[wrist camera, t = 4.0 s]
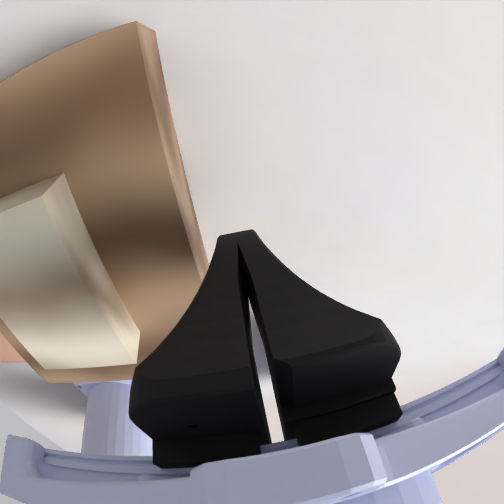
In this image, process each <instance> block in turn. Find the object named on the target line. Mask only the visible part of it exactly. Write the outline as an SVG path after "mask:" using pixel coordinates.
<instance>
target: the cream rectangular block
mask: <svg viewBox="0 0 504 504" xmlns="http://www.w3.org/2000/svg"><path fill="white" fill-rule="evenodd" d="M0 318H1V319H2V320H3V322H4V323H5V324H6V326H7V327H8V328H9V329H10V330H11V332H12V333H13V334H14V335H15V337H16V338H17V339H18V340H19V341H20V343H21V344H22V345H23V346H24V347H25V348H26V349H27V351H28V352H29V353H30V354H31V355H32V356H33V357H34V358H35V359H36V360H37V362H38V363H39V364H40V365H41V366H42V367H43V368H44V369H45V370H47V369H73V368H90V367H104V366H116V365H127V364H137V356H138V347H139V338H140V331H139V329H138V328H137V326H136V324H135V323H134V321H133V319H132V317H131V316H130V314H129V312H128V310H127V309H126V307H125V305H124V303H123V301H122V300H121V298H120V296H119V294H118V292H117V290H116V288H115V287H114V285H113V283H112V281H111V279H110V277H109V275H108V273H107V271H106V269H105V267H104V265H103V263H102V261H101V259H100V257H99V255H98V253H97V251H96V249H95V246H94V244H93V242H92V240H91V238H90V236H89V233H88V231H87V229H86V227H85V224H84V222H83V220H82V217H81V215H80V213H79V210H78V208H77V205H76V203H75V201H74V198H73V196H72V193H71V191H70V188H69V185H68V183H67V180H66V177H65V175H64V173H62V174H59V175H56V176H53V177H51V178H48V179H46V180H43V181H40V182H38V183H35V184H33V185H30V186H28V187H26V188H23V189H21V190H19V191H16V192H14V193H12V194H9V195H7V196H5V197H3V198H0Z"/></svg>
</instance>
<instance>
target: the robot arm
mask: <svg viewBox="0 0 504 504" xmlns="http://www.w3.org/2000/svg"><path fill="white" fill-rule="evenodd" d="M248 297H249V299H248ZM249 300H250V304H251V307H252V310H253V313H254V316H255V319H256V323H257V326H258V329H259V332H260V335H261V338H262V341H263V345H264V348H265V352H266V357H267V361H268V366H269V371H270V375H271V380H272V385H273V389H274V394H275V399H276V403H277V408H278V413H279V417H280V422H281V427H282V431H283V436H284V441H282V442H277V443H272V442H271V437H270V432H269V428H268V423H267V418H266V413H265V408H264V403H263V398H262V394H261V389H260V384H259V379H258V373H257V368H256V363H255V358H254V352H253V345H252V334H251V322H250V311H249ZM400 356H401V350H400V347H399V345H398V343H397V341H396V340H395V338H394V336H393V335H392V333H391V332H390V330H389V329H388V328H387V327H386V325H385V324H384V323H383V321H382V320H381V319H379V318H376V317H373V316H370V315H368V314H365V313H362V312H360V311H357V310H354V309H352V308H350V307H348V306H346V305H343V304H341V303H339V302H337V301H335V300H333V299H332V298H330V297H328V296H326V295H325V294H323V293H321V292H319V291H318V290H316V289H315V288H313V287H312V286H310V285H309V284H307V283H306V282H305V281H303V280H302V279H301V278H299V277H298V276H297V275H295V274H294V273H293V272H292V271H291V270H290V269H288V268H287V267H286V266H285V265H284V264H283V263H282V262H281V261H280V260H279V259H278V258H277V257H276V256H275V255H274V254H273V253H272V252H271V251H270V250H269V249H268V248H267V247H266V245H265V244H264V243H263V242H262V240H261V239H260V238H259V236H258V235H257V233H256V232H255V231H254V230H246V231H241V232H236V233H231V234H226V235H220V236H219V237H218V239H217V243H216V248H215V251H214V254H213V257H212V260H211V263H210V265H209V268H208V270H207V273H206V275H205V277H204V279H203V281H202V283H201V286H200V288H199V290H198V291H197V293H196V295H195V297H194V299H193V300H192V302H191V304H190V305H189V307H188V309H187V310H186V312H185V313H184V314H183V316H182V317H181V319H180V320H179V322H178V323H177V324H176V326H175V327H174V328H173V330H172V331H171V332H170V333H169V334H168V335H167V337H166V338H165V339H164V340H163V341H162V342H161V344H160V345H159V346H158V347H157V348H156V349H155V350H154V351H153V352H152V353H151V354H150V355H149V356H148V357H147V358H146V359H144V360H143V361H142V362H141V363H140V364H139V365H138V366H137V367H136V368H135V370H134V375H133V379H132V380H121V381H105V382H84V383H73V385H75V386H76V387H77V388H78V389H79V390H80V391H81V392H82V393H83V394H84V395H85V396H86V397H87V398H88V401H87V408H86V415H85V422H84V430H83V439H82V449H81V453H75V452H66V451H59V450H51V449H45V448H44V447H43V446H41V445H40V444H38V443H37V442H35V441H33V440H30V439H27V438H22V437H18V436H13V435H8V436H7V440H6V446H5V452H4V459H3V465H2V473H1V482H0V492H1V494H4V495H6V496H8V497H10V498H13V499H15V500H18V501H20V502H23V503H25V504H442V501H441V498H440V495H439V492H438V490H437V487H436V484H435V481H434V479H433V476H432V473H434V472H436V471H438V470H439V469H441V468H443V467H445V466H447V465H449V464H450V463H452V462H454V461H455V460H457V459H459V458H461V457H462V456H464V455H466V454H467V453H469V452H470V451H472V450H474V449H475V448H476V447H478V446H480V445H481V444H483V443H484V442H486V441H487V440H489V439H490V438H491V437H493V436H494V435H495V434H497V433H499V432H500V431H501V430H503V429H504V348H503V350H502V351H501V352H500V354H499V355H498V358H497V359H495V360H494V361H492V362H490V363H489V364H487V365H485V366H483V367H482V368H480V369H478V370H476V371H474V372H473V373H471V374H469V375H467V376H465V377H463V378H461V379H459V380H457V381H455V382H453V383H451V384H449V385H447V386H445V387H443V388H441V389H439V390H437V391H435V392H433V393H430V394H428V395H426V396H424V397H421V398H419V399H417V400H414V401H412V402H410V403H407V404H405V405H402V406H400V405H399V403H398V401H397V398H396V396H395V394H394V392H395V391H396V386H395V384H394V382H393V380H392V376H393V373H394V371H395V369H396V367H397V365H398V362H399V360H400Z"/></svg>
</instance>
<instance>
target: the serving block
mask: <svg viewBox="0 0 504 504" xmlns="http://www.w3.org/2000/svg"><path fill="white" fill-rule="evenodd" d="M62 173H64V175H65V177H66V180H67V183H68V185H69V188H70V191H71V193H72V196H73V198H74V201H75V203H76V205H77V208H78V210H79V213H80V215H81V217H82V220H83V222H84V224H85V227H86V229H87V231H88V233H89V236H90V238H91V240H92V242H93V244H94V246H95V249H96V251H97V253H98V255H99V257H100V259H101V261H102V263H103V265H104V267H105V269H106V271H107V273H108V275H109V277H110V279H111V281H112V283H113V285H114V287H115V288H116V290H117V292H118V294H119V296H120V298H121V300H122V301H123V303H124V305H125V307H126V309H127V310H128V312H129V314H130V316H131V317H132V319H133V321H134V323H135V324H136V326H137V328H138V329H139V331H140V338H139V347H138V356H137V364H127V365H116V366H104V367H90V368H73V369H47V370H45V369H44V368H43V367H42V366H41V365H40V364H39V363H38V362H37V360H36V359H35V358H34V357H33V356H32V355H31V354H30V353H29V352H28V351H27V349H26V348H25V347H24V346H23V345H22V344H21V343H20V341H19V340H18V339H17V338H16V337H15V335H14V334H13V333H12V332H11V330H10V329H9V328H8V327H7V326H6V324H5V323H4V322H3V320H2V319H1V318H0V332H1V334H2V335H3V336H4V337H5V338H6V340H7V341H8V342H9V343H10V344H11V345H12V347H13V348H14V349H15V350H16V351H17V352H18V353H19V354H20V355H21V357H22V358H23V359H24V360H25V361H26V362H27V363H28V364H29V365H30V366H31V367H32V368H33V369H34V370H35V371H36V372H37V373H38V374H39V375H40V376H41V377H42V378H43V379H44V380H45V381H46V382H47V383H84V382H105V381H121V380H132V379H133V375H134V370H135V368H136V367H137V366H138V365H139V364H140V363H141V362H142V361H143V360H144V359H146V358H147V357H148V356H149V355H150V354H151V353H152V352H153V351H154V350H155V349H156V348H157V347H158V346H159V345H160V344H161V342H162V341H163V340H164V339H165V338H166V337H167V335H168V334H169V333H170V332H171V331H172V330H173V328H174V327H175V326H176V324H177V323H178V322H179V320H180V319H181V317H182V316H183V314H184V313H185V312H186V310H187V309H188V307H189V305H190V304H191V302H192V300H193V299H194V297H195V295H196V293H197V291H198V290H199V288H200V286H201V283H202V281H203V279H204V277H205V275H206V273H207V270H208V268H209V263H208V260H207V256H206V252H205V249H204V245H203V241H202V238H201V234H200V230H199V226H198V222H197V219H196V215H195V211H194V207H193V203H192V199H191V195H190V191H189V187H188V183H187V179H186V175H185V171H184V167H183V163H182V158H181V154H180V150H179V146H178V141H177V137H176V133H175V128H174V124H173V119H172V115H171V110H170V105H169V101H168V96H167V91H166V86H165V82H164V77H163V72H162V67H161V61H160V56H159V51H158V46H157V40H156V35H155V31H154V30H152V29H150V28H148V27H146V26H145V25H143V24H141V23H139V22H137V21H135V22H131V23H128V24H125V25H122V26H119V27H116V28H113V29H110V30H107V31H105V32H102V33H99V34H97V35H94V36H91V37H89V38H86V39H84V40H81V41H79V42H77V43H74V44H72V45H70V46H68V47H65V48H63V49H61V50H59V51H57V52H55V53H53V54H50V55H48V56H46V57H44V58H43V59H41V60H39V61H37V62H35V63H33V64H31V65H29V66H27V67H26V68H24V69H22V70H20V71H19V72H17V73H15V74H14V75H12V76H10V77H9V78H7V79H5V80H4V81H2V82H1V83H0V198H3V197H5V196H7V195H9V194H12V193H14V192H16V191H19V190H21V189H23V188H26V187H28V186H30V185H33V184H35V183H38V182H40V181H43V180H46V179H48V178H51V177H53V176H56V175H59V174H62Z"/></svg>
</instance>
